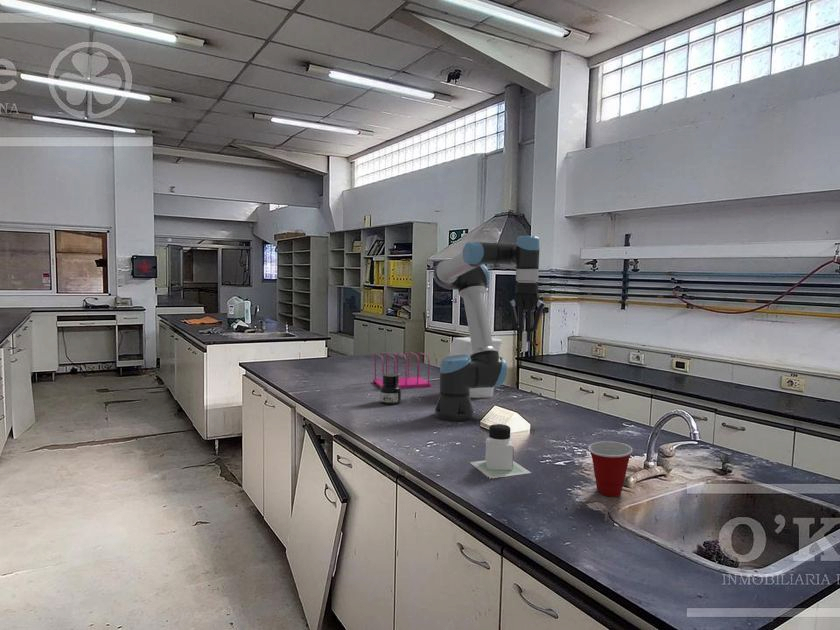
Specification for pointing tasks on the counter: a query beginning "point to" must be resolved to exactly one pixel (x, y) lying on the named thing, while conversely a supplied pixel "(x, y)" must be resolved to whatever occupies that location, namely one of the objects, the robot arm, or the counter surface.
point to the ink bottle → (390, 389)
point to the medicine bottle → (499, 448)
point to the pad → (499, 473)
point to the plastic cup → (610, 466)
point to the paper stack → (465, 348)
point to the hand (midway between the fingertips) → (524, 350)
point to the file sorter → (406, 381)
